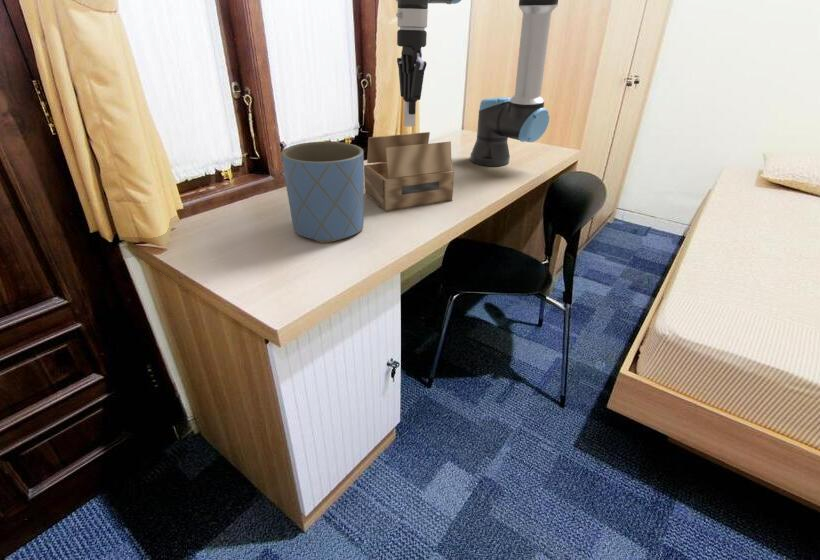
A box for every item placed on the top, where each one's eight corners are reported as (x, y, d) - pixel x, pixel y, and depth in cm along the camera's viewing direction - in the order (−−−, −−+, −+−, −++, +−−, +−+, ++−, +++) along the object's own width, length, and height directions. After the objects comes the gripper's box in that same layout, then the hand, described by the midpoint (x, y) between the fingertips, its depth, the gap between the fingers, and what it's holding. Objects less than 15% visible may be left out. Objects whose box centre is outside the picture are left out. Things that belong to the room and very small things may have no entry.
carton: (428, 184, 144) (430, 157, 139) (453, 200, 132) (456, 171, 127) (363, 193, 135) (362, 165, 131) (384, 212, 123) (383, 181, 118)
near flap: (450, 141, 124) (450, 141, 123) (451, 170, 126) (451, 170, 126) (385, 148, 116) (386, 148, 116) (388, 178, 119) (388, 178, 118)
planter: (381, 230, 112) (380, 152, 102) (319, 252, 101) (310, 167, 90) (337, 209, 124) (332, 137, 114) (277, 227, 112) (265, 149, 102)
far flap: (426, 156, 138) (425, 156, 139) (429, 132, 133) (429, 132, 133) (367, 163, 131) (367, 162, 131) (368, 138, 125) (368, 137, 126)
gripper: (388, 28, 113) (388, 122, 126) (409, 29, 104) (407, 131, 116) (413, 28, 116) (411, 120, 128) (437, 30, 106) (432, 129, 118)
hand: (409, 125), depth 122 cm, fingers closed
